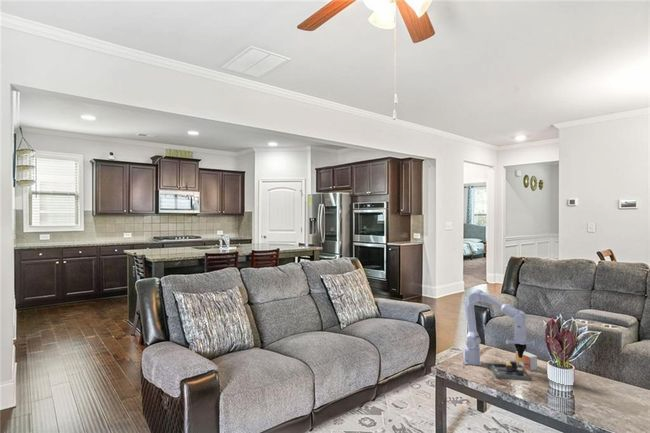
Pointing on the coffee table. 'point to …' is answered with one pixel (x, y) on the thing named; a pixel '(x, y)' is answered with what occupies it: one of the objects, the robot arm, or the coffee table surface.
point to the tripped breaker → (508, 367)
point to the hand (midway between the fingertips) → (520, 357)
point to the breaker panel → (516, 372)
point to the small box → (527, 361)
